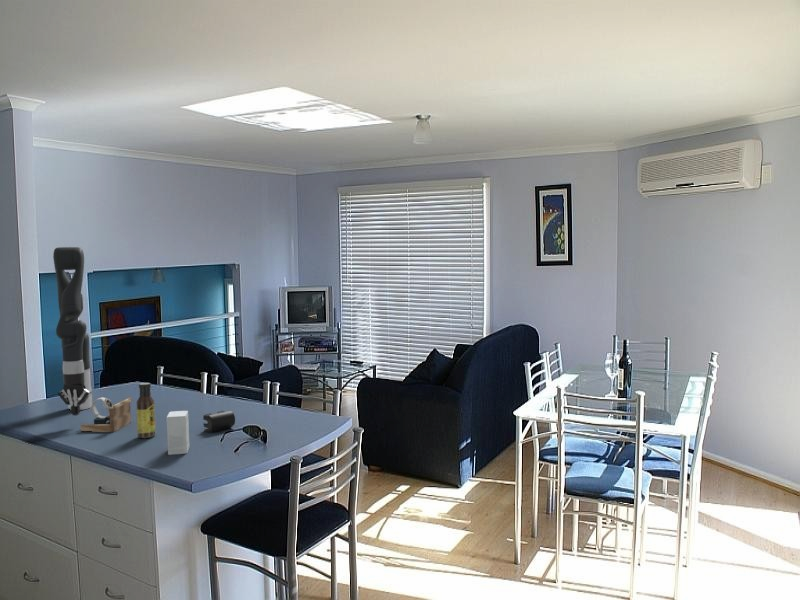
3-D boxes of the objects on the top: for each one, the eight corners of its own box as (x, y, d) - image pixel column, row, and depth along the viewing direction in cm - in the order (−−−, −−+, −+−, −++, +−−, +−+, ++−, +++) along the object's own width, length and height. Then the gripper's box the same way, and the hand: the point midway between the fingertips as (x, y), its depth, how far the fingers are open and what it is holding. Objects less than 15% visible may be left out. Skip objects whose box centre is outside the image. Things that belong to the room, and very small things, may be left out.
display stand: (99, 422, 270) (98, 397, 269) (133, 422, 269) (132, 397, 268) (81, 431, 256) (79, 405, 255) (116, 431, 255) (114, 405, 254)
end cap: (212, 434, 251) (212, 416, 250) (202, 431, 255) (202, 413, 255) (235, 429, 258) (235, 411, 257) (225, 425, 263) (225, 408, 262)
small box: (170, 448, 233) (169, 411, 232) (189, 446, 235) (188, 410, 234) (167, 455, 225) (166, 416, 224) (187, 453, 227) (185, 415, 226)
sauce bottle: (154, 438, 246) (152, 384, 244) (136, 439, 244) (134, 385, 243) (156, 433, 252) (154, 381, 251) (139, 435, 251) (136, 382, 249)
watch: (110, 427, 262) (108, 399, 261) (89, 427, 262) (88, 399, 262) (116, 423, 268) (115, 396, 267) (96, 423, 268) (95, 396, 267)
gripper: (94, 369, 265) (96, 412, 267) (62, 369, 266) (64, 412, 268) (84, 373, 258) (87, 417, 259) (51, 373, 259) (54, 417, 260)
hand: (75, 414), depth 263 cm, fingers closed
